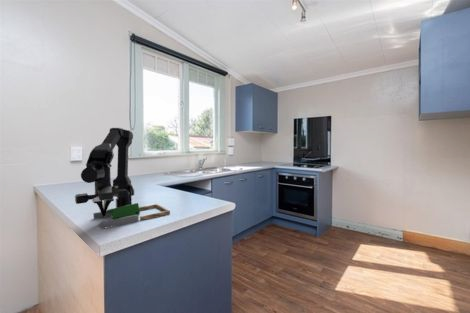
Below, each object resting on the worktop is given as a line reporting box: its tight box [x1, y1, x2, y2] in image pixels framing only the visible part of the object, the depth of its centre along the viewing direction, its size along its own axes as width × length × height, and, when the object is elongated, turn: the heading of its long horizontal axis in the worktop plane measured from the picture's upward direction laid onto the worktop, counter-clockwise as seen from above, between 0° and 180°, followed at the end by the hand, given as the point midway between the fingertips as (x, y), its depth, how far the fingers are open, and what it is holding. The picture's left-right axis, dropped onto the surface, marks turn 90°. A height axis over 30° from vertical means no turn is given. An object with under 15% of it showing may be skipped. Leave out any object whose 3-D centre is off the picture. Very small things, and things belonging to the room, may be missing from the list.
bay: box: [139, 203, 171, 221], centre depth 106 cm, size 13×16×2 cm
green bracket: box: [107, 202, 141, 220], centre depth 98 cm, size 12×6×9 cm, turn 140°
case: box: [92, 211, 140, 229], centre depth 96 cm, size 14×16×2 cm
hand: (103, 216), depth 93 cm, fingers closed
